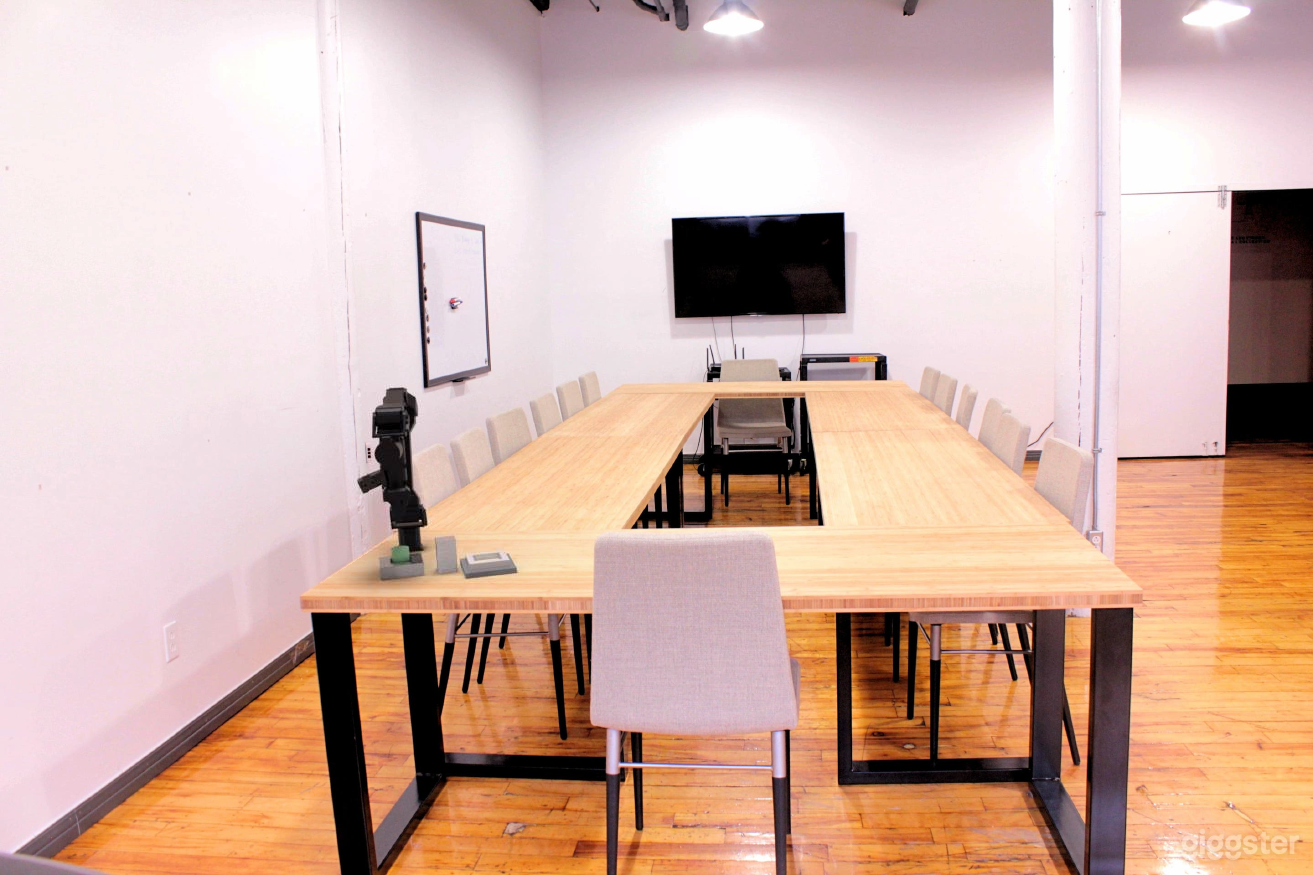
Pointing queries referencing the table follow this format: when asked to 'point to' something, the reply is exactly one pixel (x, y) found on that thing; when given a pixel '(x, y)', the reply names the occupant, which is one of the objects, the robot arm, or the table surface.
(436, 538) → the block
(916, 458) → the table surface
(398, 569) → the square peg board
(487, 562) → the grey slotted socket base
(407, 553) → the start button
